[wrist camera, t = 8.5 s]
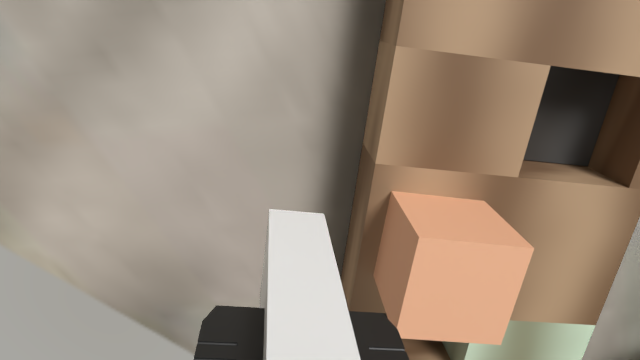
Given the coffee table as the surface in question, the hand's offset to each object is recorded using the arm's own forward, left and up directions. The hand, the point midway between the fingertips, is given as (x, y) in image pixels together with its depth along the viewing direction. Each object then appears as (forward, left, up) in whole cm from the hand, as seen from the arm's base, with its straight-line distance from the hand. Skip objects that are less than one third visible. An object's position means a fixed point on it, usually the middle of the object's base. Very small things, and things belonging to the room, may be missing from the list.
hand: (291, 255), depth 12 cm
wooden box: (-9, -1, -9) cm, 13 cm away
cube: (-6, +2, -6) cm, 9 cm away
